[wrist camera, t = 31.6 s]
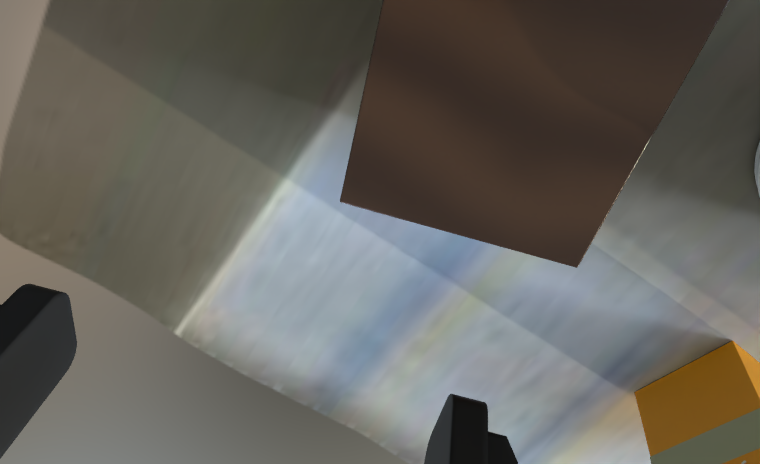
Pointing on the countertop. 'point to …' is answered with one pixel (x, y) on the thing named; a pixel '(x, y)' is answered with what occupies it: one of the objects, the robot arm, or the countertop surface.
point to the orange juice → (705, 411)
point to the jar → (757, 168)
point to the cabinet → (517, 113)
